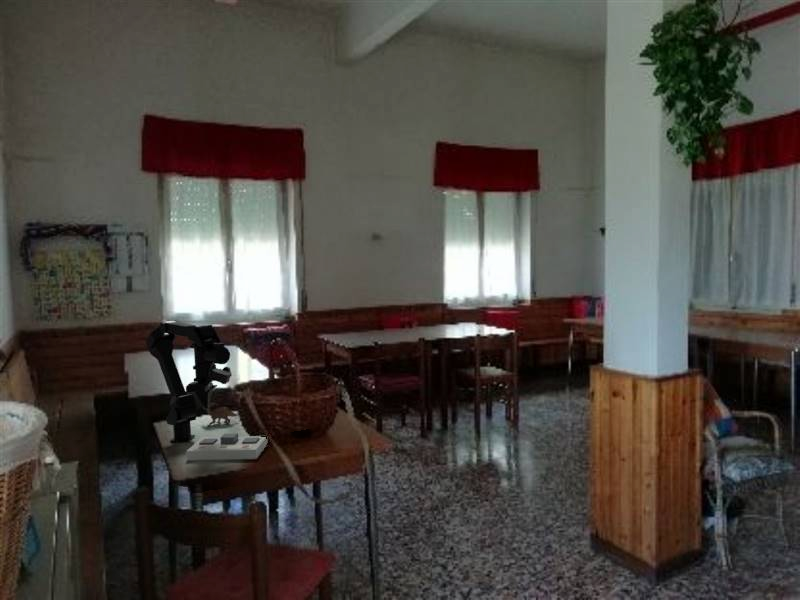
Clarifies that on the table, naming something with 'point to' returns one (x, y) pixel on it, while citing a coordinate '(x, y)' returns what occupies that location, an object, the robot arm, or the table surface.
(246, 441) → the button
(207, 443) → the button
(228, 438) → the middle button
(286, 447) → the table surface
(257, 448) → the button panel
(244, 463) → the table surface
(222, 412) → the dinosaur figurine
